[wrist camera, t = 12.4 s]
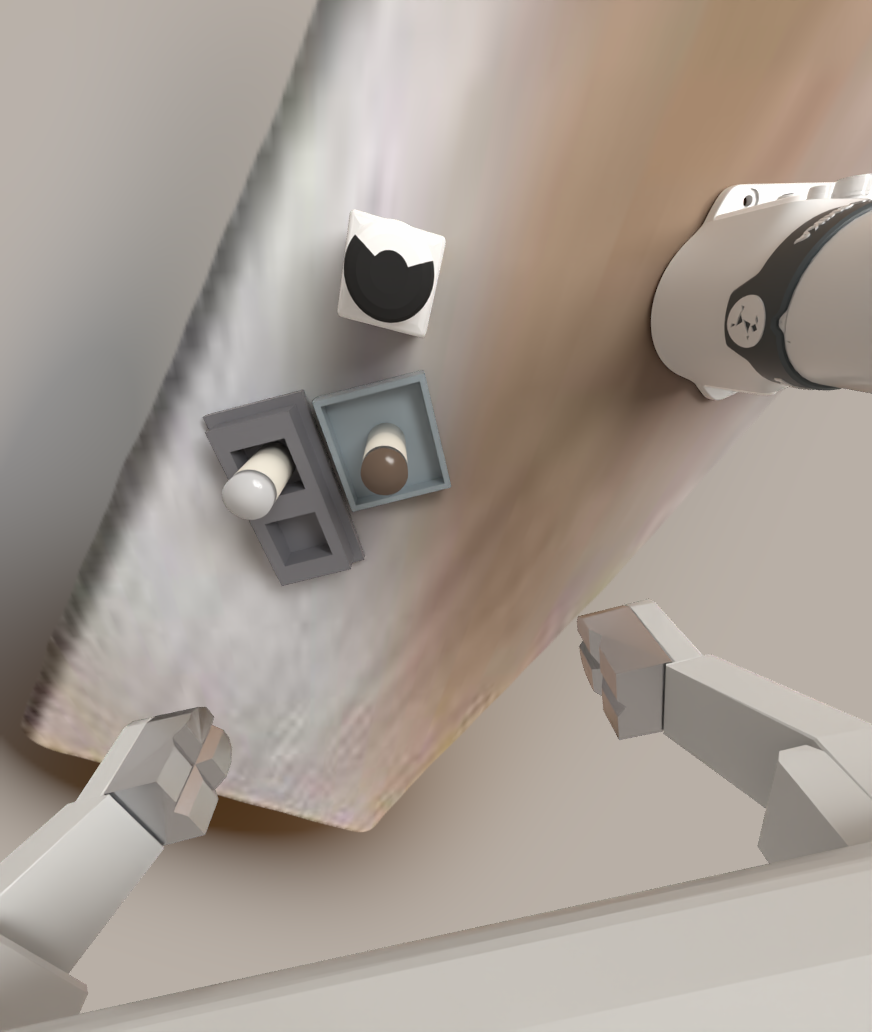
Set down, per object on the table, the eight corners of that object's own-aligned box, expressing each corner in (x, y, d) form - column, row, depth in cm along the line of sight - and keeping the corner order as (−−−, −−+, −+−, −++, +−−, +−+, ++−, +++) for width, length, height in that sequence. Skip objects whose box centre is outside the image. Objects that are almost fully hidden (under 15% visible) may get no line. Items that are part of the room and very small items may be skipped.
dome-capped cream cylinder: (287, 438, 42) (260, 470, 34) (302, 473, 44) (279, 513, 36) (249, 447, 42) (213, 482, 34) (266, 483, 44) (235, 524, 36)
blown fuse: (399, 418, 43) (401, 445, 34) (409, 454, 45) (413, 489, 36) (362, 428, 43) (354, 457, 34) (373, 463, 45) (368, 500, 36)
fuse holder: (206, 414, 42) (189, 424, 38) (303, 389, 41) (294, 397, 38) (285, 574, 51) (276, 594, 47) (364, 555, 50) (362, 574, 47)
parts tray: (423, 369, 41) (424, 373, 39) (448, 478, 47) (451, 487, 45) (316, 397, 42) (312, 402, 40) (354, 502, 47) (352, 512, 45)
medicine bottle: (420, 334, 40) (429, 343, 29) (345, 314, 39) (326, 317, 28) (438, 248, 37) (455, 225, 26) (358, 224, 36) (342, 189, 25)
